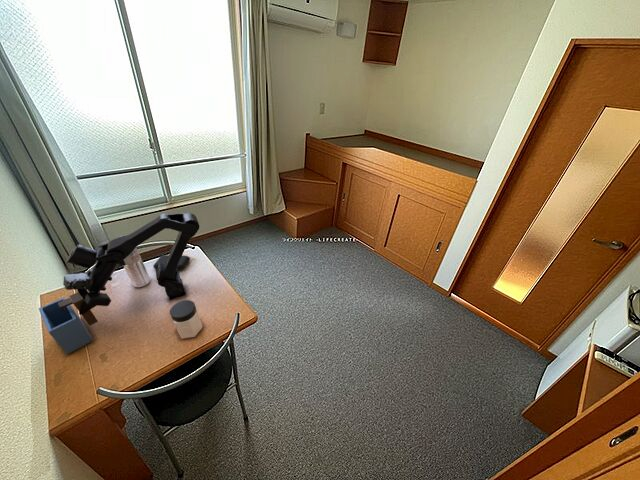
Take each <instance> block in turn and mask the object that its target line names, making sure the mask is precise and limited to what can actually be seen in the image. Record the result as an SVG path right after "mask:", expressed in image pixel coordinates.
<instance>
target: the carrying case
mask: <svg viewBox="0 0 640 480" xmlns="http://www.w3.org/2000/svg"><path fill="white" fill-rule="evenodd" d="M168 256H169V254H162V255H161V256H159V257H158V259H157V260H156V261H155V263H154V264H153V265H152V267H153V269H155V270H156V269H157V268H158V266H159V263H160V264H164V263H165V262H166V260H167V258H168ZM190 258H191V257H190V256H187V255H182V256H181V259H180V261H179V263H178V265H177V267H176V271H182V270H184V269H185V268H186V266H187V265H188V263H189V261H190V260H191V259H190Z"/></svg>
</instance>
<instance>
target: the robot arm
mask: <svg viewBox="0 0 640 480" xmlns="http://www.w3.org/2000/svg"><path fill="white" fill-rule="evenodd" d="M166 229H169V230H173V231H175V232H178V233H177V236H176V238H175V240H174V243H173V245H172V247H171V250H170V251H169V254H168V255H169V256H168V258H167V260H166V262H165V263H164V264H160V263H159V266H158V268H157V269H155V277H156V281H157V285H158V286H159V287H161V288H162V287H163V288H164V292H165V294H166V296H167V298H168V299H169V301H173V300H176V299H179V298H183V297H186V296H187V291H186V287H185V284H184V282H183V279H182V278H181V275H180V270H177V271H176V267H177V265H178V263H179V261H180V259H181V256H183V254H184V252H185V250H186V247H187V246H188V243H189V241H190V240H191V239H192V238H194V237H195V235H196V234H197V233H198V231H199V230H200V223H199V220H198V218H197V216H196V215H195V214H194V213H192V212H191V213H190V212H186V213H180V212H177V213H161V214H159V215H158V216H157V217H156V218H154V219H152V220H150V221H149V222H147V223H146V224H144V225H142V226H140V228H138V229H136V230H134V231H132V232H131V233H129V234H126V235H120V236H121V237H120V236H119V237H116V238H114V239H112V240H110V241H109V242H108V243H104V244H102V245H98V246H97V247H96V249H93V248H90V247H87V246H84V245H81V244H77V245H76V246H75V247H74V248H72V249H71V251H70V253H69V254H68V256H67V258H66V260H65V264H68V265H73V266H77V267H81V268H85V269H88V270H87V271H86V272H85V273H84V272H77V273H71V274H64V276H63V283H62V285H63V287H64V288H65V290H67V291H71V290H72V291H73V290H74V291H75V290H77V292H79V293H80V295H81V296H82V299H83V300H84V303H83V305H82V307H81V310H80V312H79V311H78V312H79V313H78V315H79V316H80V315H81V316H82V315H83V314H84V313H86V312H88V311H89V310H91V311H92V309H94V308H95V307H98V306H99V307H109V306H110V304H111V303H112V299H111V298H110V296H109V294H108V293H106V292H105V291H106V290H107V287H106V285H107V284H108V281H112V280H113V277H112V276H113V274H114V271H116V269H117V267H118V265H119V266H122V267H124V266H125V265H126V264H125V261H124V259H125V258H126V257H127V256H129V255H130V254H131V253H132V252H133V250H134V249H135V248H137V247H138V246H139V245H141V244H143V243H144V242H146V241H149V239H151V238H153V237H154V236H156V235H157V234H159V233H161V232H162V231H163V230H166ZM91 267H93V268H92V269H90V268H91ZM101 291H102V292H101ZM77 292H76V293H77ZM73 305H74V304H73ZM74 307H75V305H74Z"/></svg>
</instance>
